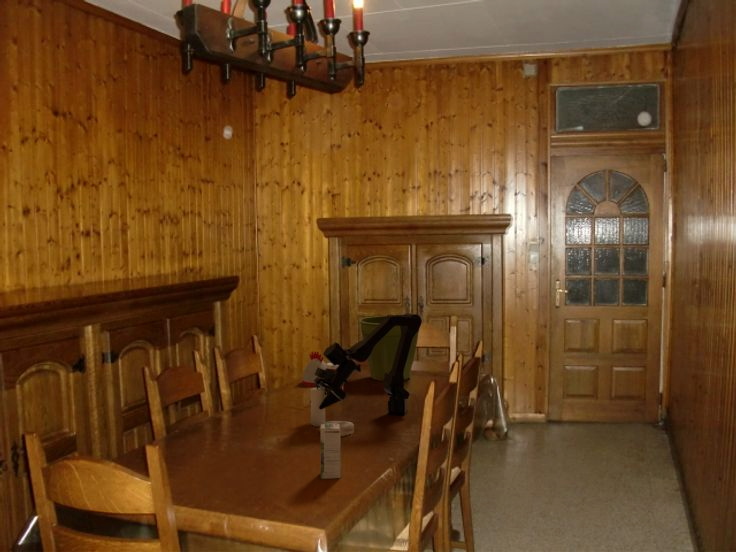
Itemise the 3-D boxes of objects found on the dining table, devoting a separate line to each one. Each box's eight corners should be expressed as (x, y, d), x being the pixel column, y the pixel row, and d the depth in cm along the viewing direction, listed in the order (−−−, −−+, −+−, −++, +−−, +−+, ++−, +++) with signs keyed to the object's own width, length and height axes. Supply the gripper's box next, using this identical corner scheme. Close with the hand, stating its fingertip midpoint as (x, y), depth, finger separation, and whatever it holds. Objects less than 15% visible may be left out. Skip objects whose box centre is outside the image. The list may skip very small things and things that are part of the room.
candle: (327, 423, 252) (326, 385, 251) (322, 426, 247) (321, 388, 246) (314, 422, 254) (313, 384, 253) (308, 425, 249) (308, 387, 248)
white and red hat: (315, 378, 332) (314, 348, 331) (337, 382, 323) (337, 350, 323) (296, 384, 320) (295, 352, 319) (318, 387, 312) (318, 355, 311)
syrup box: (320, 472, 199) (319, 423, 198) (340, 471, 199) (339, 422, 199) (320, 479, 193) (319, 429, 192) (341, 478, 194) (340, 428, 193)
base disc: (358, 428, 244) (358, 421, 244) (347, 437, 233) (347, 431, 233) (327, 425, 248) (327, 419, 248) (314, 435, 237) (314, 428, 237)
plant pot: (364, 371, 347) (363, 315, 345) (423, 372, 343) (422, 315, 341) (355, 384, 317) (354, 323, 316) (419, 385, 313) (418, 323, 312)
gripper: (318, 355, 259) (291, 387, 255) (337, 363, 242) (309, 397, 238) (337, 374, 263) (311, 405, 259) (358, 383, 246) (330, 417, 242)
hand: (315, 406), depth 249 cm, fingers open, 9 cm apart
